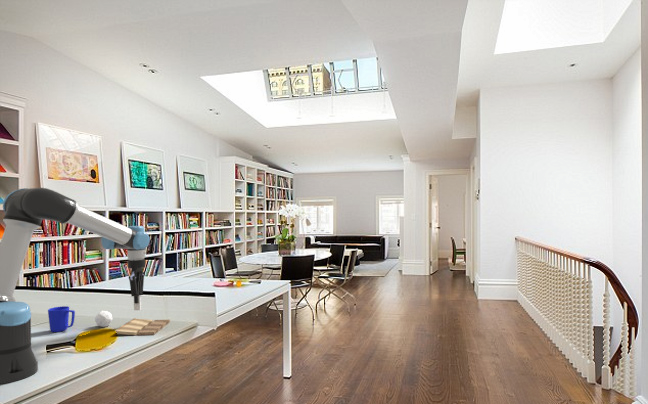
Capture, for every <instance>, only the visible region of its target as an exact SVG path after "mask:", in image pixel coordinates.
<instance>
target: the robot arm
mask: <svg viewBox="0 0 648 404" xmlns="http://www.w3.org/2000/svg"><path fill="white" fill-rule="evenodd" d="M2 209H3V210H2V211H3V212H4V216H3V218H2V222H3V223H4V224H5V228H4V231H3V234H2V237H1V241H0V384H7V383H12V382H17V381H19V380H24V379H25V378H28V377H30V376H33V375H35V374H36V373H37V372H38V371H39V363H38V361H37V359H36V356H35V354H34V351H33V349H32V319H31V318H32V312H31V307H30V305H29V304H28V303H27V302H24V301H17V300H16V299H15V298H14V292H15V289H16V286H17V285H18V284H17V283H18V280H19V277H20V274H21V271H22V267H23V265H24V262H25V258H26V256H27V254H28V250H29V246H30V243H31V240H32V237H33V234H34V232H35V231H37V230H38V229H40V228H41V225H42V221H43V220H46V221H52V222H53V221H54V222H57V223H59V224H63V225H65V224H69V225H72V226H74V227H77V228H80V229H82V230H83V231H84V230H85V231H86V232H90V233H92V234H95V235H97V236H99V237H101V241H100V243H101V246H102V248H104V249H105V250H115V249H118V250H127V268H128V269H131V272H130V275H129V276H128V280H129V287H130V288H129V289H130V294H131V297H133V310H134V311H141V310H142V296H144V293H143V292H144V282H145V281H144V280H145V274H146V273H145V271H143V268H145V267H146V259H145V258H146V253H147V252H146V248H148V246H149V244H150V241H151V240H150V239H151V238H150V236H149V234H148V233H146V232H145V227H144V226H143V225H130V226H125V225H123V224H121V223H118V222H116V221H114V220H112V219H110V218H108V217H106V216H104V215H101V214H99V213H96V212H94V211H92V210H90V209H88V208H85V207H84V206H81V205H79V204H78V202H77V201H76V200H75V199H72V198H70V197H68V196H66V195H64V194H63V193H59V192H57V191H55V190H53V189H49V188H47V187H33V188H31V187H30V188H28V187H27V188H19V189H16V190H13V191H11V192H10V193H8V194H7V195H6V196H5V198H4V199H3V202H2Z"/></svg>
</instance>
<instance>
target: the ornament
mask: <svg viewBox="0 0 648 404" xmlns="http://www.w3.org/2000/svg"><path fill="white" fill-rule="evenodd" d="M94 319H95V323H96V325H97V326H98V327H101V328H105V327H108V326H109V325H110V324H112V322H113V315H112V313H111V312H109V311H108V310H101V311H100V312H99V313H97V314H96V316H95V318H94Z"/></svg>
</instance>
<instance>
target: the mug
mask: <svg viewBox="0 0 648 404" xmlns="http://www.w3.org/2000/svg"><path fill="white" fill-rule="evenodd" d="M70 313H71V320H69V319H70ZM75 314H76V311H75V310H74V309H70V306H67V305H66V306H64V305H63V306H56V307H55V306H54V307H51V308H49V309H47V315H48V323H49V329H50V332H53V333H59V332H64V331H66V330H68V328H71V327H73V326H74V323H75V318H76V317H75V316H76V315H75ZM69 321H70V325H69Z"/></svg>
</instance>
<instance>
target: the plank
mask: <svg viewBox="0 0 648 404" xmlns="http://www.w3.org/2000/svg"><path fill="white" fill-rule="evenodd" d="M153 321H154V319H147V318H146V319H144V318H132V319H131V320H130V321H128V322H126V323H125V324H123V325H122V326H119V327H118V328H116V329H115V330H114V331H116V332H117V334H116V335H128V336H137V334H138V332H140V331H141V330H142V329H144V328H145V327H146V326H148V325H149V324H151V323H152V322H153Z"/></svg>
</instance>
